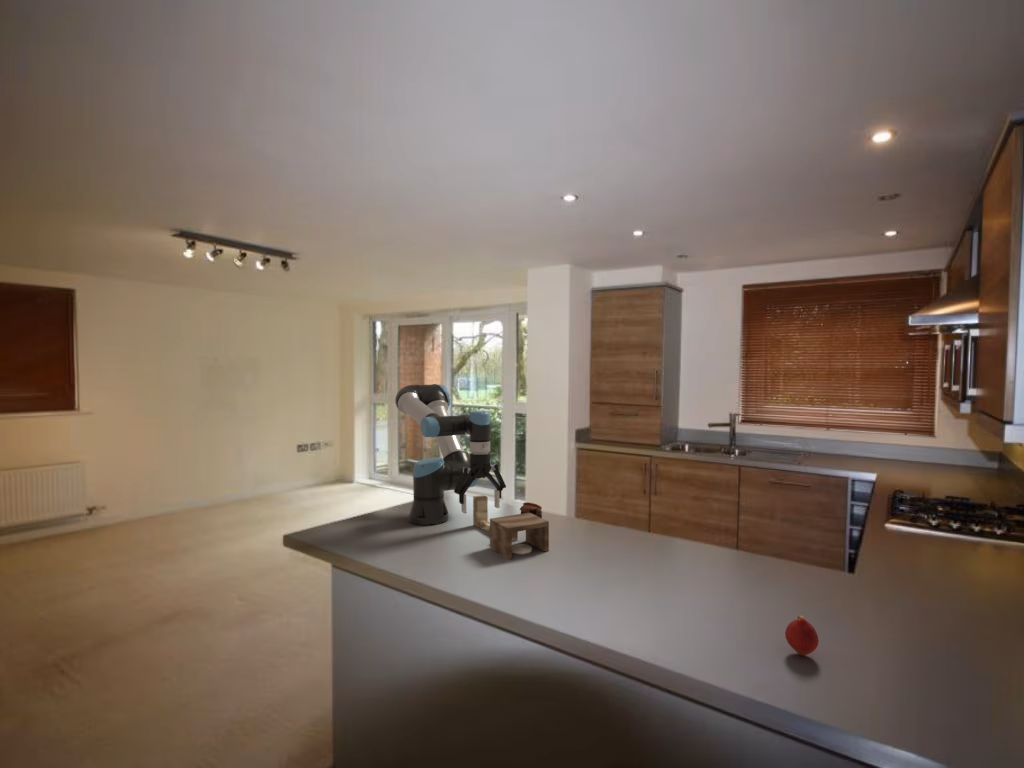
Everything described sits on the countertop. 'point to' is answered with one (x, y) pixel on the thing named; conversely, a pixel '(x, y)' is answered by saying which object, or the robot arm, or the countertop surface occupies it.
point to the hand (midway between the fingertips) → (480, 509)
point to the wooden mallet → (484, 514)
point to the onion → (801, 636)
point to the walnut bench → (506, 525)
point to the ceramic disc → (521, 548)
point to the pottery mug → (531, 509)
